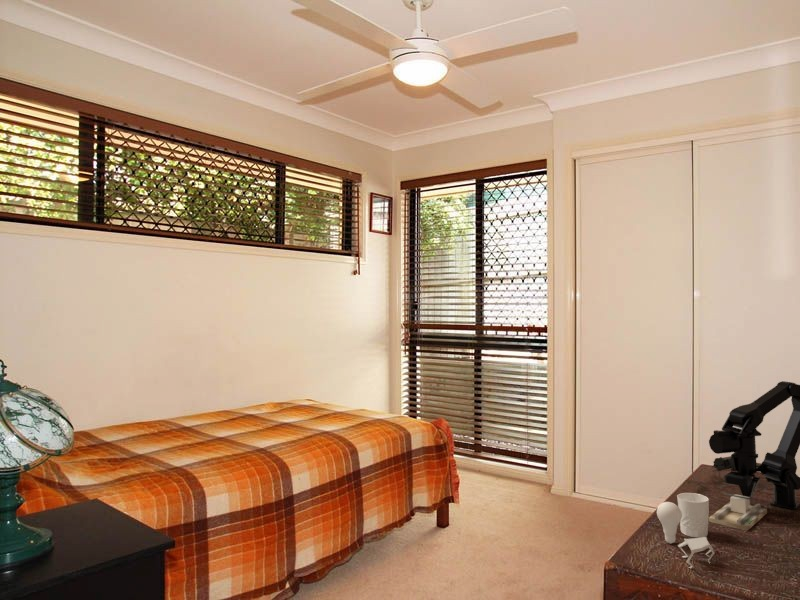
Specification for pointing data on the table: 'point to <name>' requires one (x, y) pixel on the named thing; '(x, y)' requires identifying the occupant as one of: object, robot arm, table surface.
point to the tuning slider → (739, 503)
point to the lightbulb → (669, 519)
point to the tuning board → (738, 517)
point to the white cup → (694, 514)
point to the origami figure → (696, 547)
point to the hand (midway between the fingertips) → (747, 501)
